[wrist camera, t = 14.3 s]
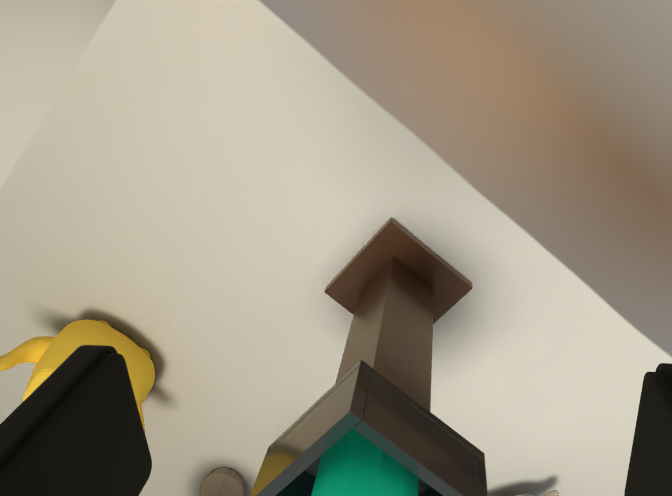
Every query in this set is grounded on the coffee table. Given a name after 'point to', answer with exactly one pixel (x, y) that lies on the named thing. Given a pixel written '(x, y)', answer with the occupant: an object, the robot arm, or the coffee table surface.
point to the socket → (373, 440)
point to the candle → (361, 471)
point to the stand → (396, 307)
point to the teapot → (74, 335)
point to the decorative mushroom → (222, 483)
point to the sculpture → (550, 495)
